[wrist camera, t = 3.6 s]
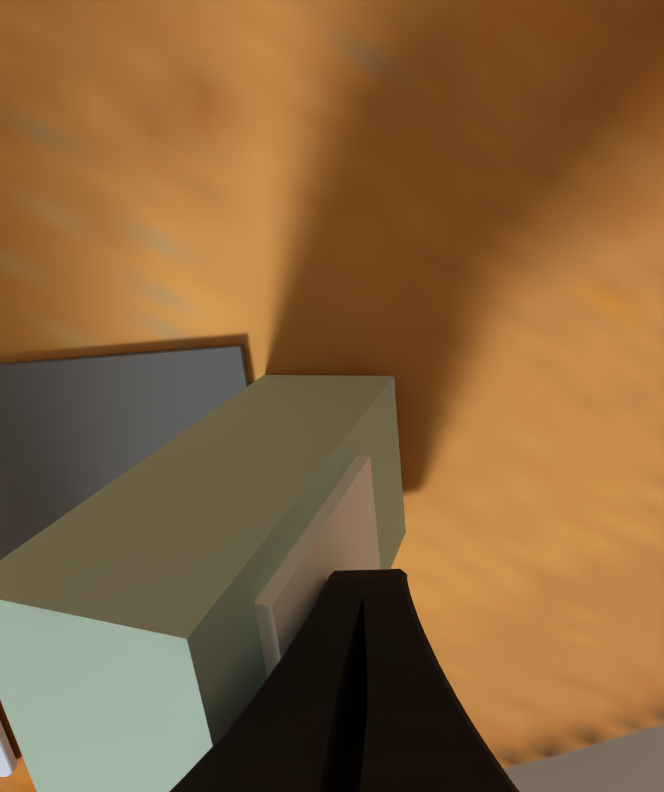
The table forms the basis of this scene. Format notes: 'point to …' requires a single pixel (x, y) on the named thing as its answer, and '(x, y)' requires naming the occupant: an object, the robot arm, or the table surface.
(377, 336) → the table surface
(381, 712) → the robot arm
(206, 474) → the sage block
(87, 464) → the mat
